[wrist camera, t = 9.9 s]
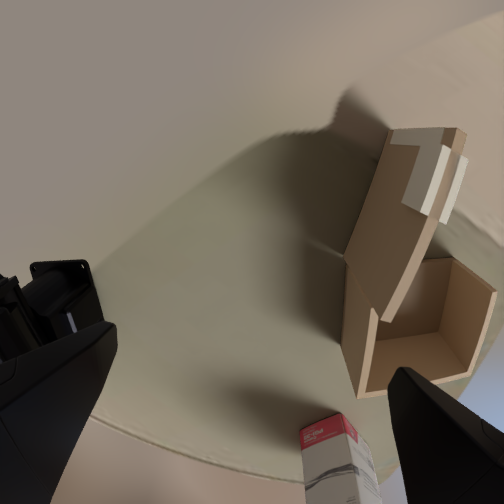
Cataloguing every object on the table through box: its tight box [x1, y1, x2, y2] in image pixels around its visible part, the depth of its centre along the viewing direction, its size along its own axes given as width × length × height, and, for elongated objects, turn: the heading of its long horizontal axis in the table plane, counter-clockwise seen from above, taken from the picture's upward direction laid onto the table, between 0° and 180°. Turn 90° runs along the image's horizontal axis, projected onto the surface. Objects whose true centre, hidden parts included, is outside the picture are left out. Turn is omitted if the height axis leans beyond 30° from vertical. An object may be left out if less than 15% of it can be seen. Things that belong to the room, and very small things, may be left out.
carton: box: [340, 257, 498, 399], centre depth 19 cm, size 9×7×6 cm
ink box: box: [300, 413, 382, 504], centre depth 22 cm, size 9×5×12 cm, turn 33°
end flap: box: [343, 127, 468, 323], centre depth 15 cm, size 9×2×8 cm, turn 163°
